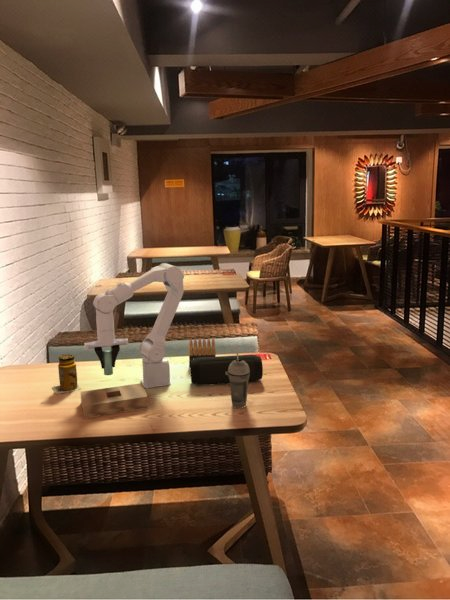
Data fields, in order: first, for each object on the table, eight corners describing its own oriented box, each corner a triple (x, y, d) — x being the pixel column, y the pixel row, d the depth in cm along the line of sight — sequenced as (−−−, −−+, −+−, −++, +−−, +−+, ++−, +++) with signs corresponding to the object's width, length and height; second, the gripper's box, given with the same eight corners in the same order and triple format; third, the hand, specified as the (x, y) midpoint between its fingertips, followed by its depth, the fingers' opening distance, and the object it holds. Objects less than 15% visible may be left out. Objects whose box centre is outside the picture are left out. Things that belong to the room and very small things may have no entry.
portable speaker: (192, 390, 174) (191, 363, 172) (190, 379, 184) (189, 354, 182) (263, 385, 178) (263, 359, 175) (257, 375, 187) (258, 350, 185)
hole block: (141, 394, 171) (140, 383, 170) (148, 407, 160) (147, 396, 159) (81, 403, 164) (80, 391, 164) (84, 418, 153) (83, 406, 153)
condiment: (81, 389, 176) (78, 357, 174) (57, 394, 172) (54, 361, 169) (75, 382, 182) (72, 351, 180) (51, 387, 178) (48, 356, 175)
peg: (112, 371, 173) (110, 349, 171) (113, 374, 170) (112, 352, 169) (103, 372, 172) (102, 350, 170) (104, 375, 169) (103, 353, 168)
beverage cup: (234, 412, 156) (234, 351, 152) (223, 403, 163) (223, 345, 158) (254, 407, 160) (254, 348, 155) (243, 399, 166) (243, 342, 162)
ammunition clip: (189, 367, 196) (188, 338, 193) (189, 366, 198) (188, 337, 195) (216, 367, 196) (215, 338, 194) (216, 365, 198) (215, 336, 195)
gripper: (125, 324, 174) (127, 360, 177) (82, 328, 169) (85, 365, 172) (128, 329, 167) (130, 367, 170) (84, 333, 163) (87, 372, 166)
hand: (108, 367), depth 171 cm, fingers closed on peg, 3 cm apart
